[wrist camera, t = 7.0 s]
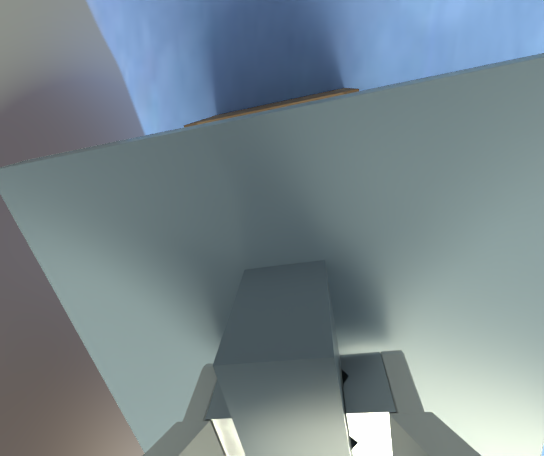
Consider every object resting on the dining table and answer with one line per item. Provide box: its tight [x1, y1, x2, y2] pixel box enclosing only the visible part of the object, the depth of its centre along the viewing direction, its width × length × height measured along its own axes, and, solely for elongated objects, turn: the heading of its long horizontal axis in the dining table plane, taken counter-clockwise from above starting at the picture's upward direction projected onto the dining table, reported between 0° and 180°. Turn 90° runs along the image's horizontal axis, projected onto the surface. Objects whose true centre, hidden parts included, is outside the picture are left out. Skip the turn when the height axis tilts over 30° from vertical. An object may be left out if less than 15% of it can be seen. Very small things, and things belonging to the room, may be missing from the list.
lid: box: [0, 53, 544, 456], centre depth 9 cm, size 13×13×5 cm
